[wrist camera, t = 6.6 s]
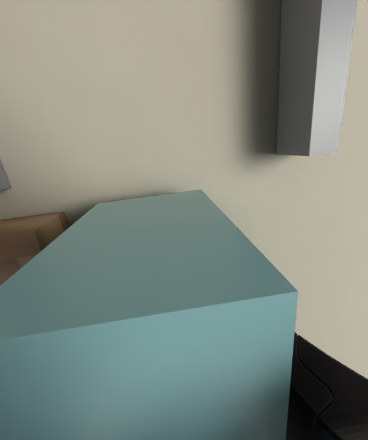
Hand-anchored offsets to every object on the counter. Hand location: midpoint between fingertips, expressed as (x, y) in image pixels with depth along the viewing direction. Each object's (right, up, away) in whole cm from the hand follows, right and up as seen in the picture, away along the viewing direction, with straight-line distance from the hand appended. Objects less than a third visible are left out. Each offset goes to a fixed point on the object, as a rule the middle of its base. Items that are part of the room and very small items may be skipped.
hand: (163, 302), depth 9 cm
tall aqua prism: (0, +1, +2) cm, 2 cm away
